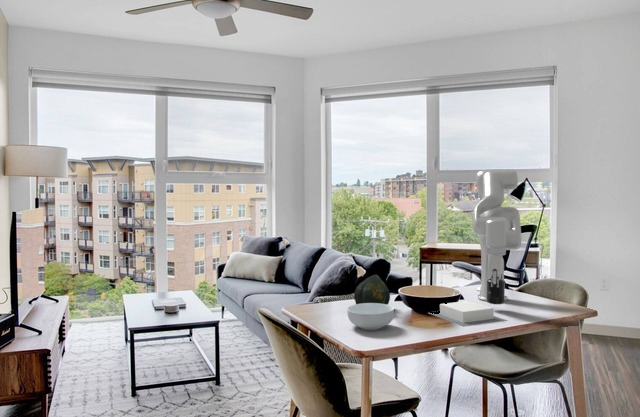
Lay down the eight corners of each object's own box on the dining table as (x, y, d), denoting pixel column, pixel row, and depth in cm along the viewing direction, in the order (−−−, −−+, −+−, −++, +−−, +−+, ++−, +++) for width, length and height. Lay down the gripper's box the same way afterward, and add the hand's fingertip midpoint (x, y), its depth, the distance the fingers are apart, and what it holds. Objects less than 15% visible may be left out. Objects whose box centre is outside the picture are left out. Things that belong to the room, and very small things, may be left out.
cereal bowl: (365, 318, 195) (364, 300, 195) (403, 326, 184) (403, 306, 184) (338, 328, 182) (337, 308, 182) (377, 336, 171) (377, 316, 171)
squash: (349, 301, 201) (374, 272, 202) (346, 294, 216) (369, 268, 217) (376, 324, 202) (401, 295, 202) (371, 316, 217) (394, 289, 217)
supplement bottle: (485, 303, 202) (485, 273, 201) (488, 299, 208) (488, 270, 207) (503, 305, 199) (503, 275, 198) (505, 301, 205) (506, 271, 204)
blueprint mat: (427, 314, 201) (427, 312, 201) (468, 309, 209) (468, 307, 209) (463, 328, 181) (463, 326, 181) (507, 321, 188) (507, 320, 188)
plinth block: (439, 314, 198) (439, 304, 198) (469, 310, 204) (469, 300, 204) (463, 322, 185) (463, 311, 185) (493, 318, 191) (493, 308, 191)
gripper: (487, 246, 211) (487, 289, 213) (484, 253, 195) (483, 299, 197) (506, 247, 208) (506, 290, 210) (504, 254, 192) (504, 300, 194)
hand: (495, 294), depth 203 cm, fingers closed on supplement bottle, 6 cm apart
